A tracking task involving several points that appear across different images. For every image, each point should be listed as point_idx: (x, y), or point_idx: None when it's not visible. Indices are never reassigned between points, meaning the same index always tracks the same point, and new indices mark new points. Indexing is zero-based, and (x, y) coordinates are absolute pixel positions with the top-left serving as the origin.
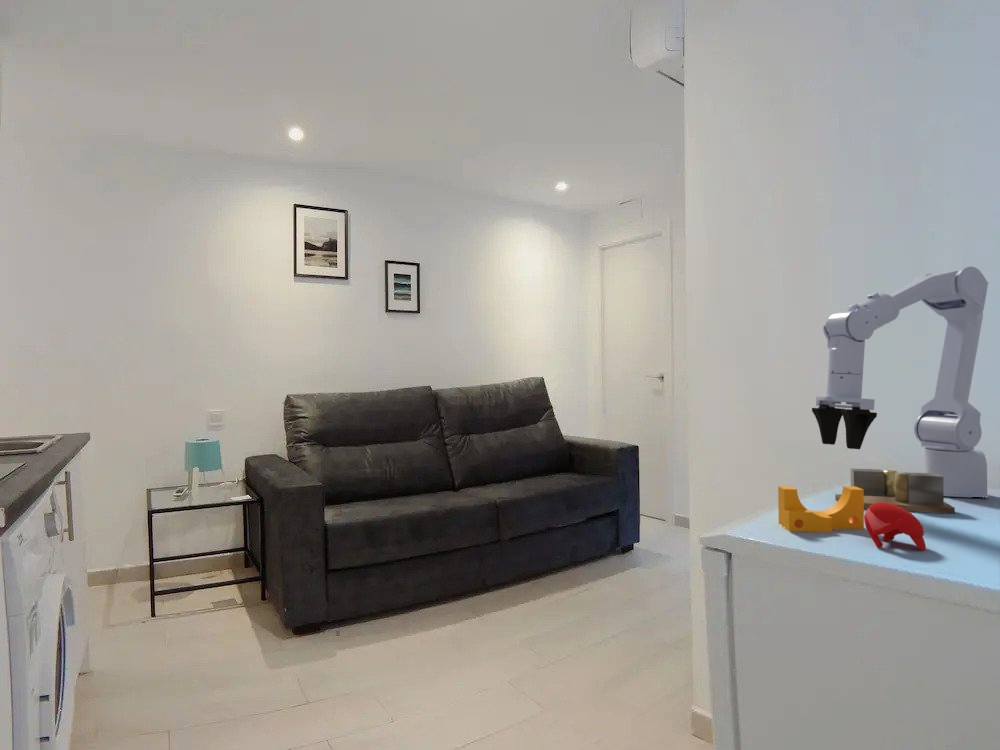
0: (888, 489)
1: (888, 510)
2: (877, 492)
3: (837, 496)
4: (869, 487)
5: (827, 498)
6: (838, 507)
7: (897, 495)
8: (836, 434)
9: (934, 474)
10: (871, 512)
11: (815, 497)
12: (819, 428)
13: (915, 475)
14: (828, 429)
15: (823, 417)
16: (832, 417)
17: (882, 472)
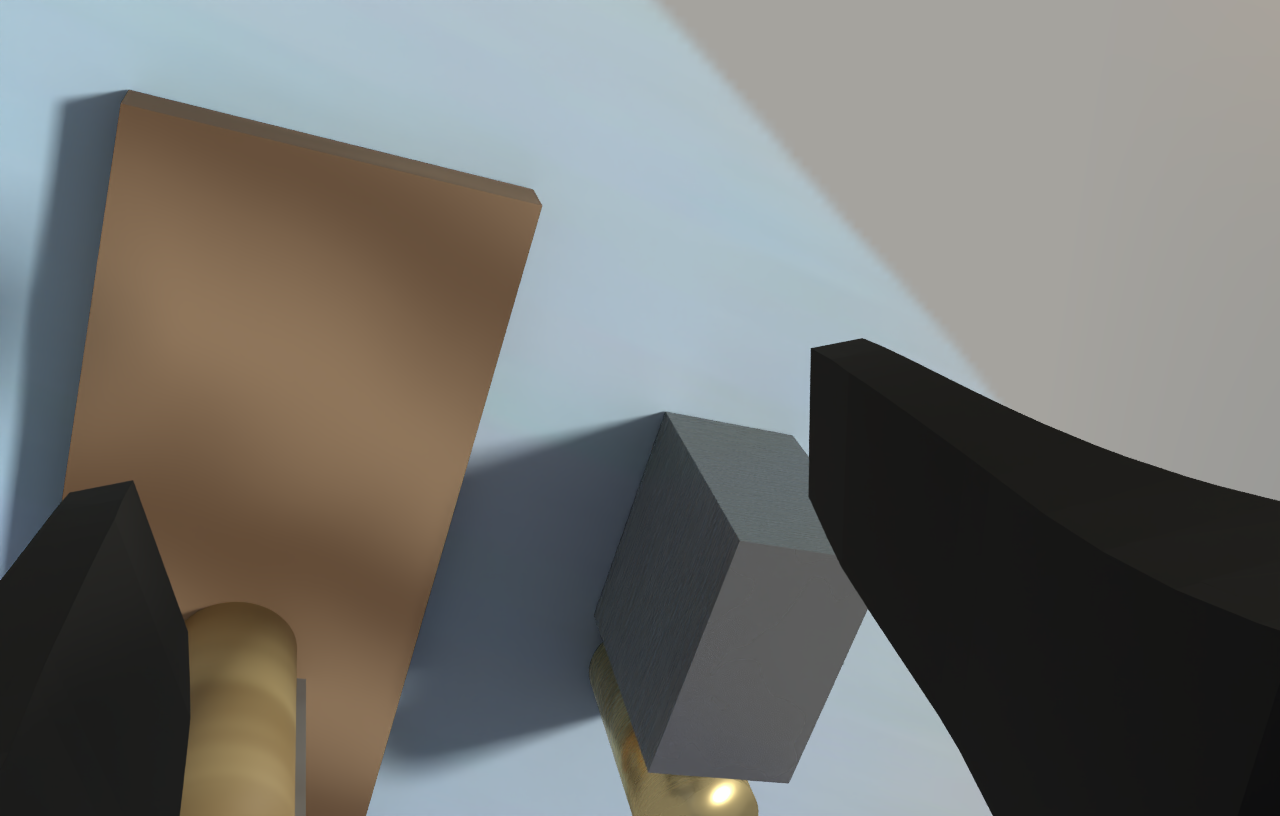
0: (618, 689)
1: None
2: (621, 597)
3: (426, 179)
4: (649, 568)
5: (592, 136)
6: None
7: (204, 640)
8: (885, 629)
9: None
10: None
11: (645, 32)
12: (1047, 427)
13: None
14: (942, 560)
15: (1106, 633)
16: (1080, 811)
17: (651, 755)
